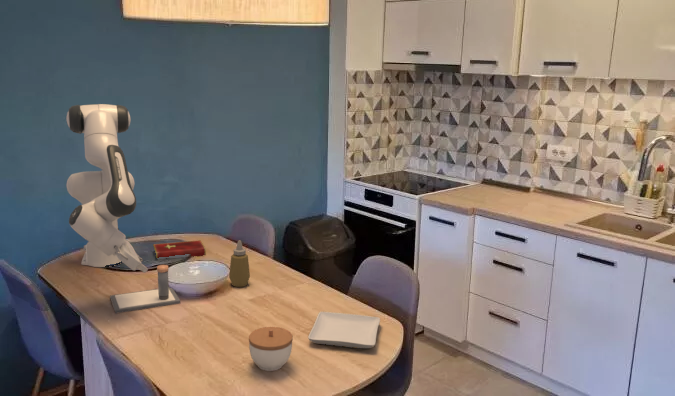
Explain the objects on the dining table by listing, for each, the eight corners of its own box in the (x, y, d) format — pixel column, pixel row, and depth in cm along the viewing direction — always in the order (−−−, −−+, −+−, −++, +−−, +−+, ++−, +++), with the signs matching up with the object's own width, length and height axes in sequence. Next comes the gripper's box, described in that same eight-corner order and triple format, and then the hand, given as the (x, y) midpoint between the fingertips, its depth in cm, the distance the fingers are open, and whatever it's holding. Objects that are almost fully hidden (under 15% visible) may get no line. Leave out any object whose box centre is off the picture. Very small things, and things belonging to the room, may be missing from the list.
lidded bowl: (293, 354, 179) (293, 320, 176) (291, 376, 167) (291, 340, 164) (251, 353, 178) (251, 320, 176) (246, 375, 166) (246, 339, 164)
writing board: (110, 298, 214) (110, 295, 213) (171, 289, 224) (171, 286, 223) (115, 313, 202) (115, 310, 201) (180, 303, 212) (180, 300, 211)
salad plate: (318, 319, 204) (319, 309, 203) (380, 325, 201) (380, 316, 201) (306, 348, 184) (307, 337, 183) (374, 355, 181) (375, 345, 180)
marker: (157, 296, 213) (156, 265, 211) (168, 295, 215) (167, 264, 212) (159, 300, 210) (158, 269, 207) (170, 299, 212) (169, 267, 209)
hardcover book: (205, 256, 262) (205, 247, 261) (156, 261, 254) (156, 252, 253) (200, 248, 272) (200, 239, 271) (153, 252, 264) (153, 243, 263)
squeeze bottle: (248, 289, 227) (248, 244, 223) (227, 288, 227) (226, 243, 223) (251, 281, 235) (251, 238, 230) (231, 280, 235) (231, 237, 231)
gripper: (124, 244, 191) (156, 269, 198) (115, 227, 209) (144, 250, 216) (110, 259, 190) (142, 283, 197) (102, 240, 208) (132, 263, 215)
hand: (143, 265), depth 207 cm, fingers open, 8 cm apart
